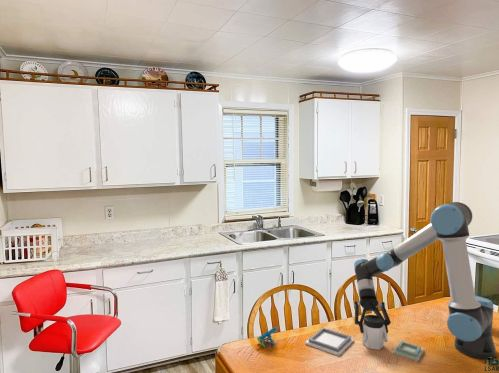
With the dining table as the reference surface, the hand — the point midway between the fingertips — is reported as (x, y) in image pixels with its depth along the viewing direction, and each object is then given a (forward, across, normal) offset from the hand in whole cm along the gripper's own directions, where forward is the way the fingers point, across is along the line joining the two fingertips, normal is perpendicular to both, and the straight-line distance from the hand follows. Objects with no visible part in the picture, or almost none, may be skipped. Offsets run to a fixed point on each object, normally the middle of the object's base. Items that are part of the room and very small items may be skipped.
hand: (375, 340), depth 157 cm
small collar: (+4, -13, -1) cm, 14 cm away
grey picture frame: (-1, +19, -6) cm, 20 cm away
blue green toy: (+1, +47, -5) cm, 47 cm away
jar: (0, 0, -5) cm, 5 cm away
